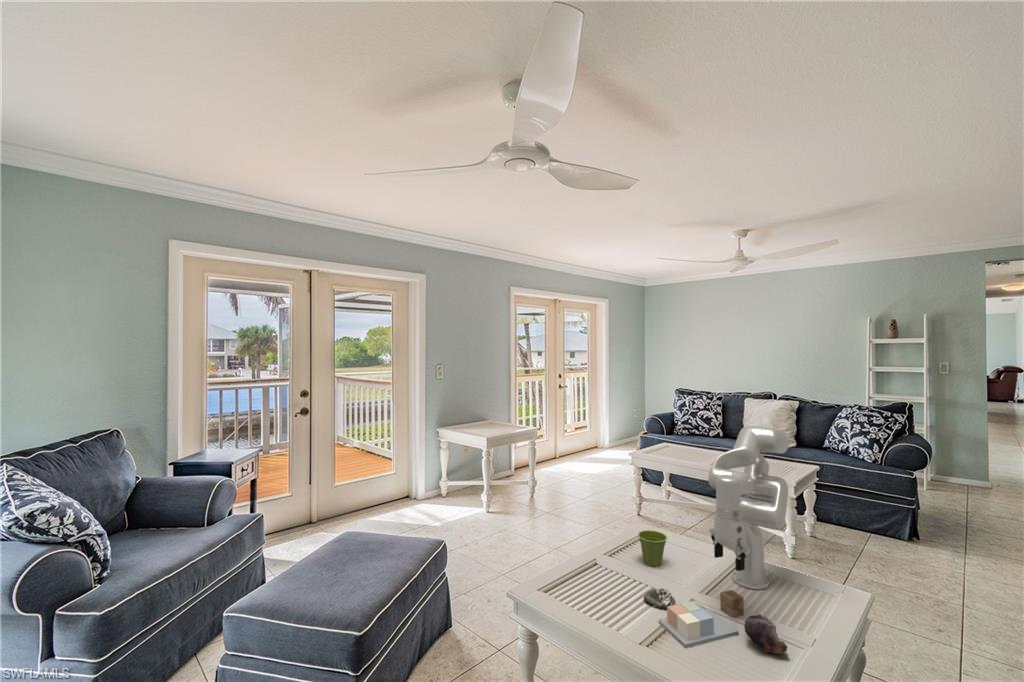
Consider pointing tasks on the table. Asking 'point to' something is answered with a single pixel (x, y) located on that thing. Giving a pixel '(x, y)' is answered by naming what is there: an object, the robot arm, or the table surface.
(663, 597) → the grey oval shell
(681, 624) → the cream block
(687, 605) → the sage block
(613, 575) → the table surface
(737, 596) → the walnut block
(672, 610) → the terracotta block
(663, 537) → the plant pot
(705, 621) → the blue block
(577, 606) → the table surface
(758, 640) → the rock
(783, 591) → the table surface
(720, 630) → the assembly board
